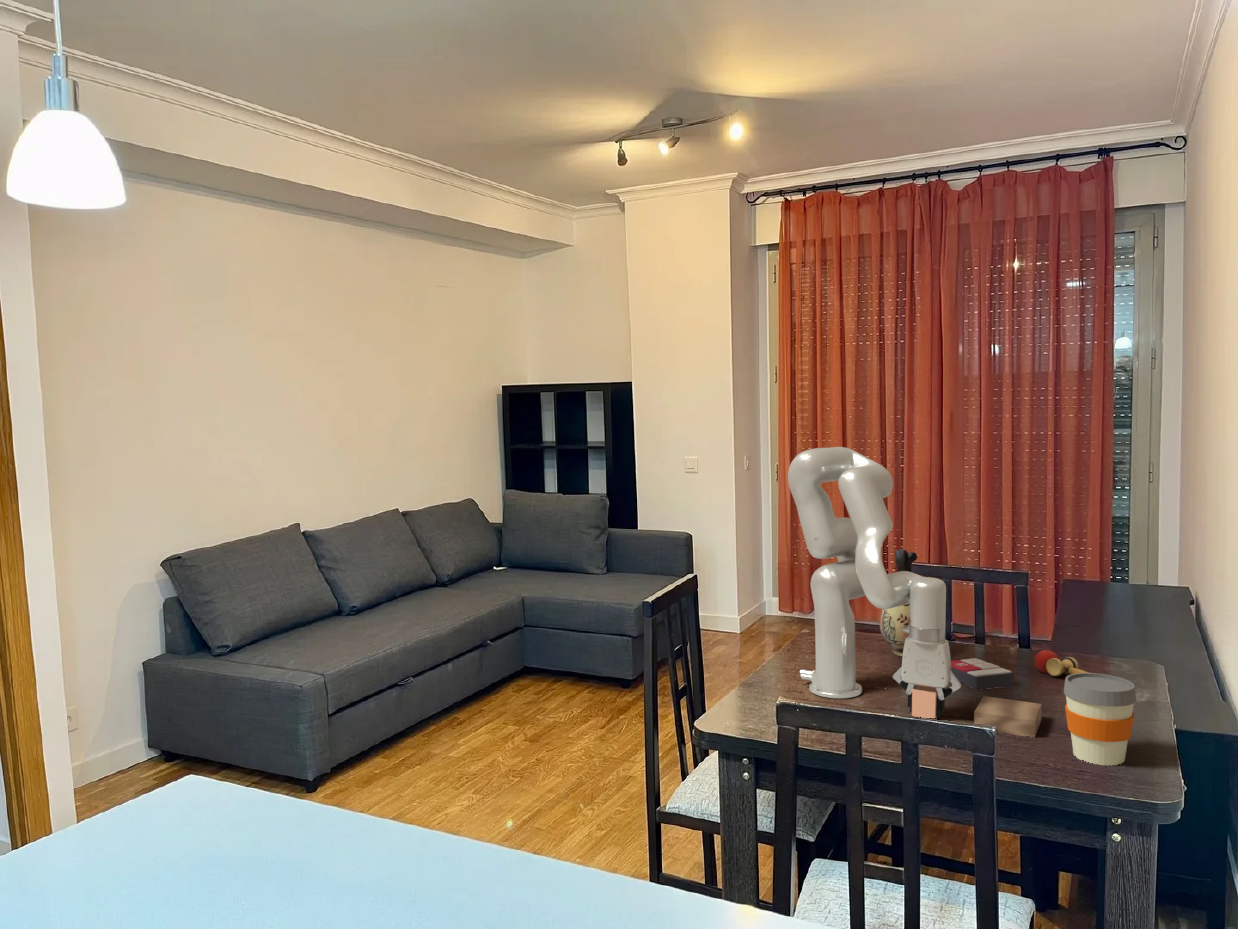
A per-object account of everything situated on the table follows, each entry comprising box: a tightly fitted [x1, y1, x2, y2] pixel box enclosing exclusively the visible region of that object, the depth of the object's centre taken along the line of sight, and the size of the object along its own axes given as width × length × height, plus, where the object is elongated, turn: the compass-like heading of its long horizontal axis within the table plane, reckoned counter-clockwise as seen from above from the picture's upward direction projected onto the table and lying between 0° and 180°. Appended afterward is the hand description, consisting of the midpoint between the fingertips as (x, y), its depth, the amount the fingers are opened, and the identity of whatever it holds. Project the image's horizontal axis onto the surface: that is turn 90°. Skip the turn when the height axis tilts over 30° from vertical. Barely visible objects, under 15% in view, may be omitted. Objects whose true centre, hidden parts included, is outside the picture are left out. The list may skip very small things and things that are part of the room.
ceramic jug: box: [879, 548, 918, 657], centre depth 249 cm, size 17×15×30 cm
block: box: [911, 685, 938, 719], centre depth 200 cm, size 5×5×6 cm
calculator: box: [951, 657, 1015, 691], centre depth 226 cm, size 11×4×15 cm
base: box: [973, 695, 1043, 738], centre depth 195 cm, size 12×12×4 cm
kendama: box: [1034, 649, 1090, 677], centre depth 225 cm, size 8×6×18 cm
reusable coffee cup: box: [1063, 672, 1137, 766], centre depth 175 cm, size 13×13×15 cm
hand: (925, 712), depth 200 cm, fingers closed on block, 5 cm apart
